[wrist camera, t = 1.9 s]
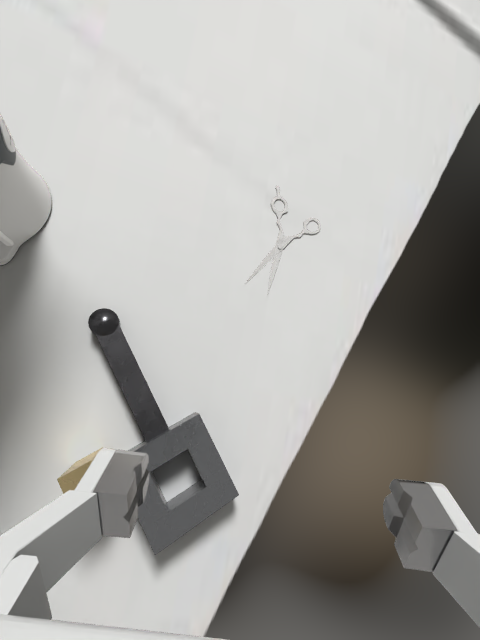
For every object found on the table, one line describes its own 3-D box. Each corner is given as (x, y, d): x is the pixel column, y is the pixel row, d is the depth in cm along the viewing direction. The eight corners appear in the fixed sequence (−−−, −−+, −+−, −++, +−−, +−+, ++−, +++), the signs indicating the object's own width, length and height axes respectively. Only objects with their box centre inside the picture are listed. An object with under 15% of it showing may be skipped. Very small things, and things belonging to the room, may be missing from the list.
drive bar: (87, 486, 36) (70, 510, 29) (75, 462, 37) (57, 479, 29) (113, 471, 37) (104, 490, 30) (102, 447, 38) (91, 460, 30)
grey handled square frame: (154, 540, 37) (155, 555, 34) (57, 330, 39) (49, 324, 36) (231, 486, 41) (238, 494, 37) (139, 298, 43) (138, 290, 40)
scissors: (325, 217, 56) (284, 306, 49) (323, 219, 56) (282, 307, 50) (277, 185, 54) (227, 272, 47) (275, 187, 55) (226, 274, 48)
